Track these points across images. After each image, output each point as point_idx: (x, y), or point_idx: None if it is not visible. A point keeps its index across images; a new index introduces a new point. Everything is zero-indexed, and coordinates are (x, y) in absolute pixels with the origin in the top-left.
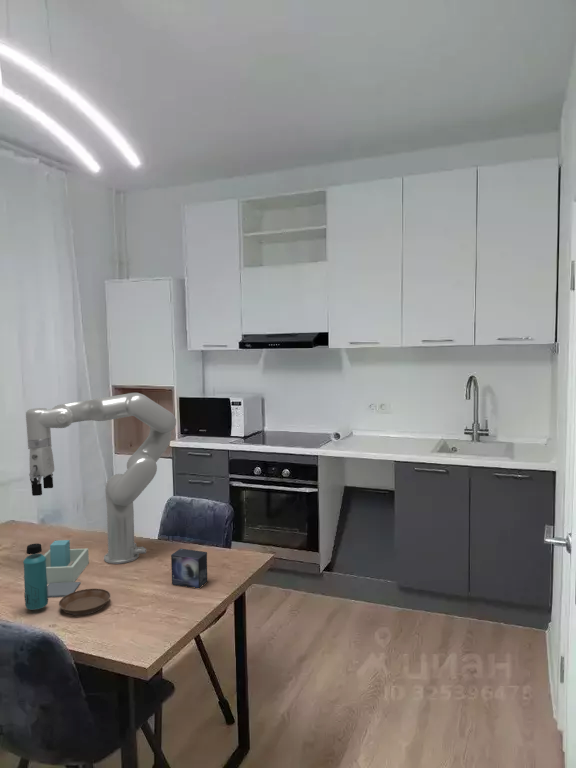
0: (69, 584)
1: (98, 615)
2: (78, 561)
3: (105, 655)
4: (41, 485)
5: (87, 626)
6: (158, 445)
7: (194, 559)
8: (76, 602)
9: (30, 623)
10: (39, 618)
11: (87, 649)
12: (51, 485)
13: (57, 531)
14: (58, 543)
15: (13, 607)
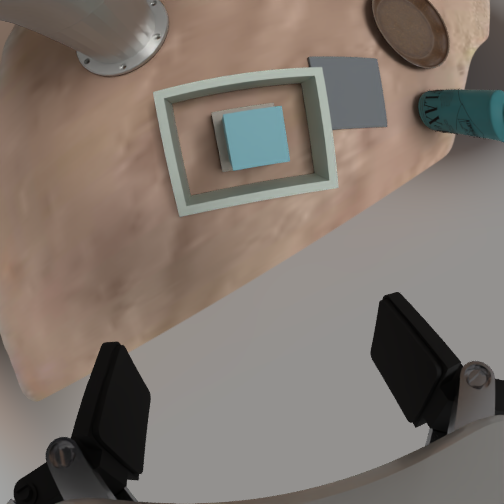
0: (327, 77)
1: None
2: (265, 71)
3: (488, 5)
4: (437, 352)
5: (454, 21)
6: None
7: None
8: (398, 43)
9: None
10: None
11: (487, 22)
12: (118, 363)
13: (10, 309)
14: (267, 138)
15: (419, 160)
